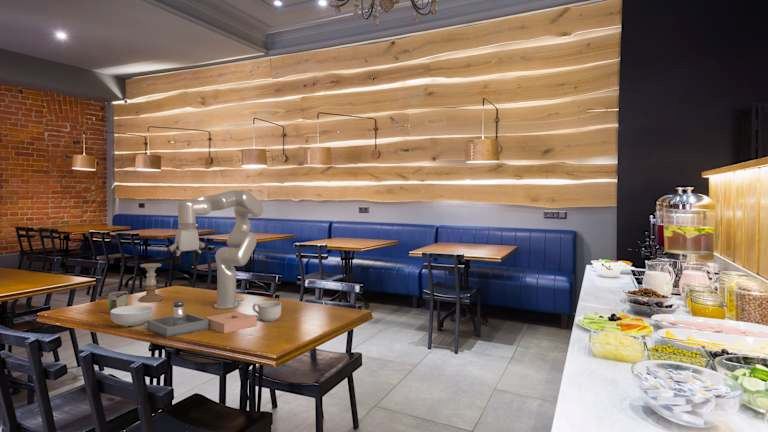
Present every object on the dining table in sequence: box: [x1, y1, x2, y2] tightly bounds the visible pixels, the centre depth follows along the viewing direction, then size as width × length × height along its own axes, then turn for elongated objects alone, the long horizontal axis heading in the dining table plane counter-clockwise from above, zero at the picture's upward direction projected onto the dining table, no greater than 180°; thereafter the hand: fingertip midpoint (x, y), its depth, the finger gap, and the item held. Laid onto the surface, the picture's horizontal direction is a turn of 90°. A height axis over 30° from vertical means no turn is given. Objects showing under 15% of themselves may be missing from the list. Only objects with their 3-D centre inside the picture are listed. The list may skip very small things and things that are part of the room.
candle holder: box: [138, 262, 164, 303], centre depth 251 cm, size 12×12×20 cm
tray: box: [146, 312, 209, 339], centre depth 195 cm, size 18×18×4 cm
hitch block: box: [204, 310, 258, 334], centre depth 201 cm, size 16×16×4 cm
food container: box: [107, 290, 129, 312], centre depth 220 cm, size 12×6×10 cm, turn 5°
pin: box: [172, 300, 185, 326], centre depth 195 cm, size 4×4×11 cm
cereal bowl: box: [109, 304, 154, 328], centre depth 201 cm, size 17×17×7 cm
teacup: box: [251, 300, 282, 322], centre depth 214 cm, size 14×11×8 cm
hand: (188, 262), depth 213 cm, fingers open, 9 cm apart
